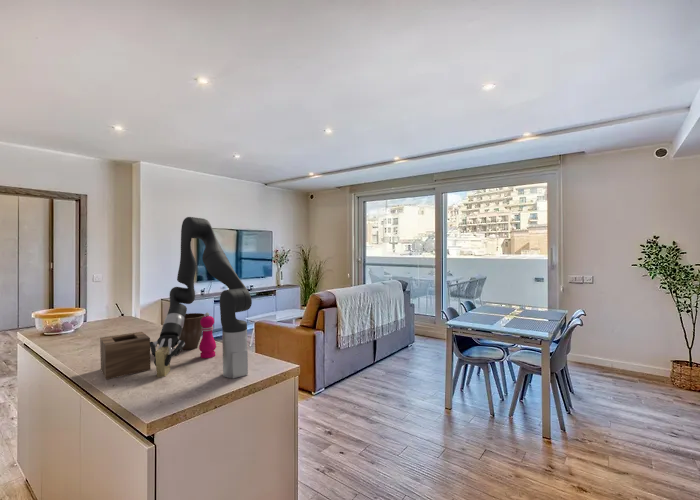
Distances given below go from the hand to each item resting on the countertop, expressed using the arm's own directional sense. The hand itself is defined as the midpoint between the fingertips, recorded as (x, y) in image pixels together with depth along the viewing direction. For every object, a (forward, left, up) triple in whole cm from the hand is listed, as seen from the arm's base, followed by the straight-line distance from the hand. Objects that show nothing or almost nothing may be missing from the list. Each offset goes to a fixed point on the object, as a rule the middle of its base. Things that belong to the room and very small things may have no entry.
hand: (161, 365), depth 134 cm
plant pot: (+33, -20, -5) cm, 39 cm away
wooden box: (+19, +9, -4) cm, 21 cm away
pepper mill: (+13, -22, -5) cm, 26 cm away
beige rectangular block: (+2, -1, -4) cm, 5 cm away
